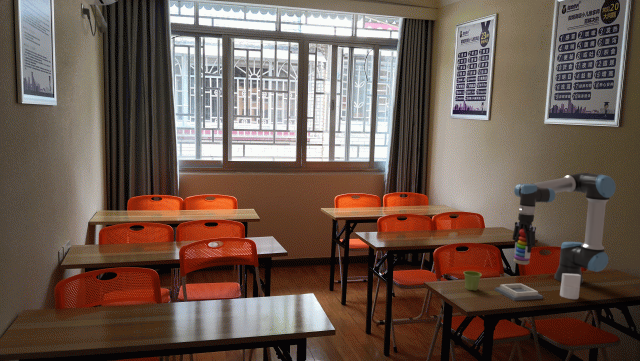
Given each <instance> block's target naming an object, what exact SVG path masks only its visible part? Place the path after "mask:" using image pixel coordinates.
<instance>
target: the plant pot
mask: <svg viewBox="0 0 640 361" xmlns="http://www.w3.org/2000/svg"><path fill="white" fill-rule="evenodd" d="M463 274H464V275H463V276H464V284H465V289H466V290H468V291H474V292H475V291H478V287H479V284H480V279H481V277H482V276H483V275H482V273H481V272H478V271H475V270H466V271H463Z"/></svg>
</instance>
